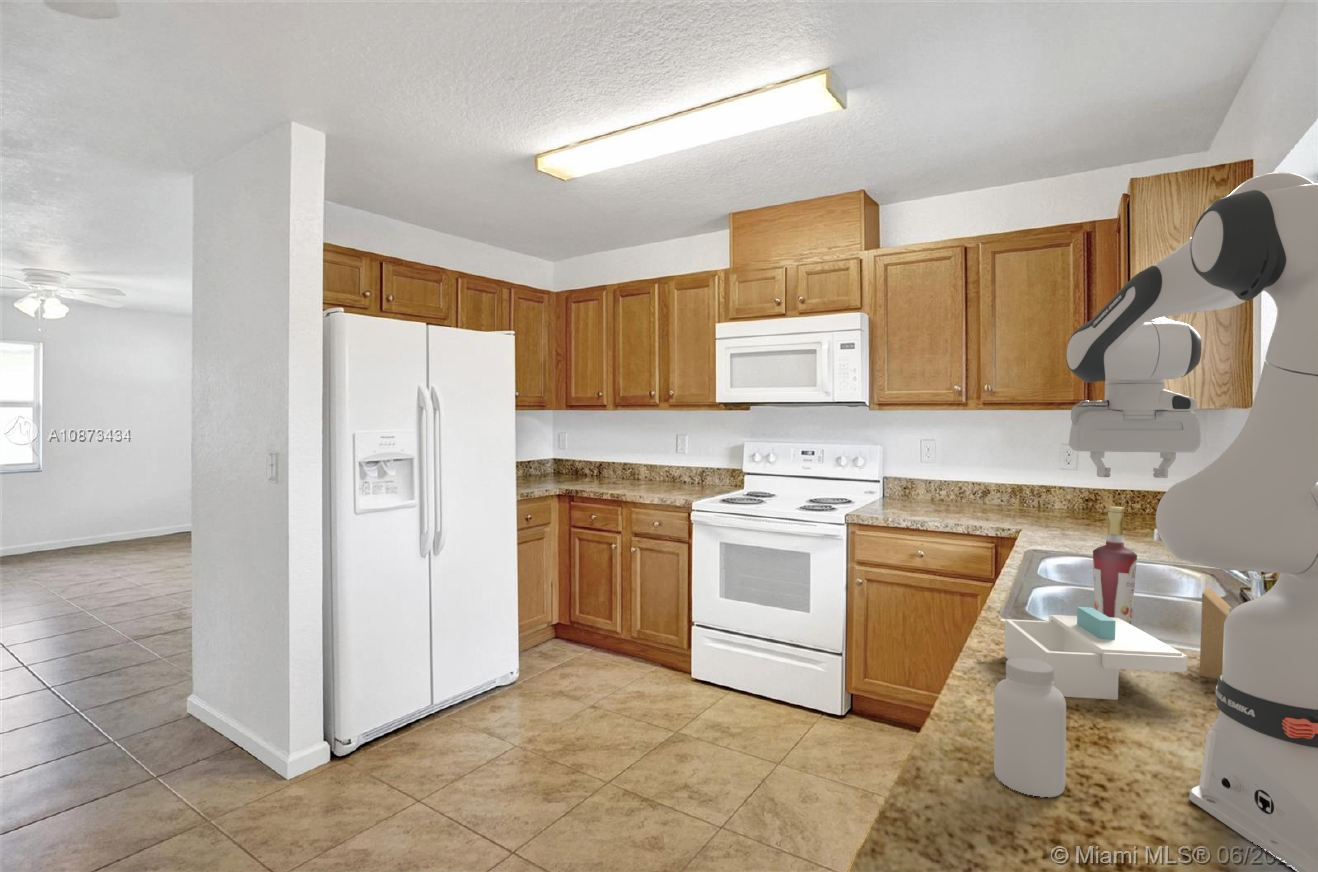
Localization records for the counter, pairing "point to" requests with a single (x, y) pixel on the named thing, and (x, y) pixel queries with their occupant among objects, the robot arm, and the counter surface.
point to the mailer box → (1062, 658)
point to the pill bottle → (1030, 729)
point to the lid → (1121, 642)
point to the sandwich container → (1212, 633)
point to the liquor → (1114, 571)
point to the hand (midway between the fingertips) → (1131, 477)
